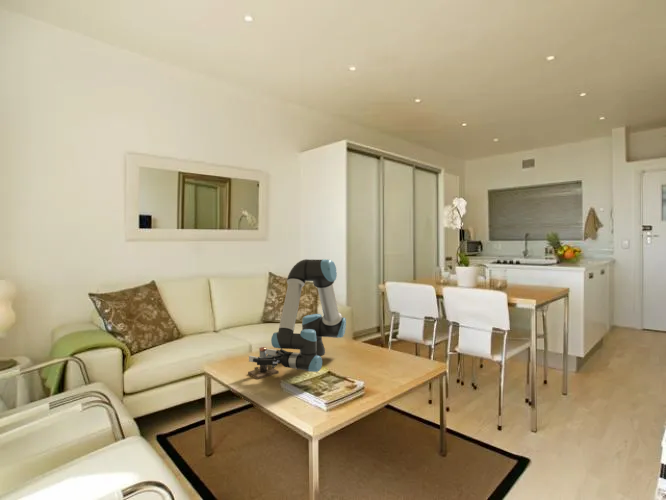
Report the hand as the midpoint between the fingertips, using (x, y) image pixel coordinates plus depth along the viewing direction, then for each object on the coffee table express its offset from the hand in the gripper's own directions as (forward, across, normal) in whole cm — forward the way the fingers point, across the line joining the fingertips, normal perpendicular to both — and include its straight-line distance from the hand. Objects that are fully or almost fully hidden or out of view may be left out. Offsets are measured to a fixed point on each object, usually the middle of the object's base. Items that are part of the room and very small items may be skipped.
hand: (257, 354), depth 195 cm
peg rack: (-3, 0, -9) cm, 10 cm away
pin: (-3, 0, -8) cm, 9 cm away
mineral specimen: (0, +13, -10) cm, 16 cm away
